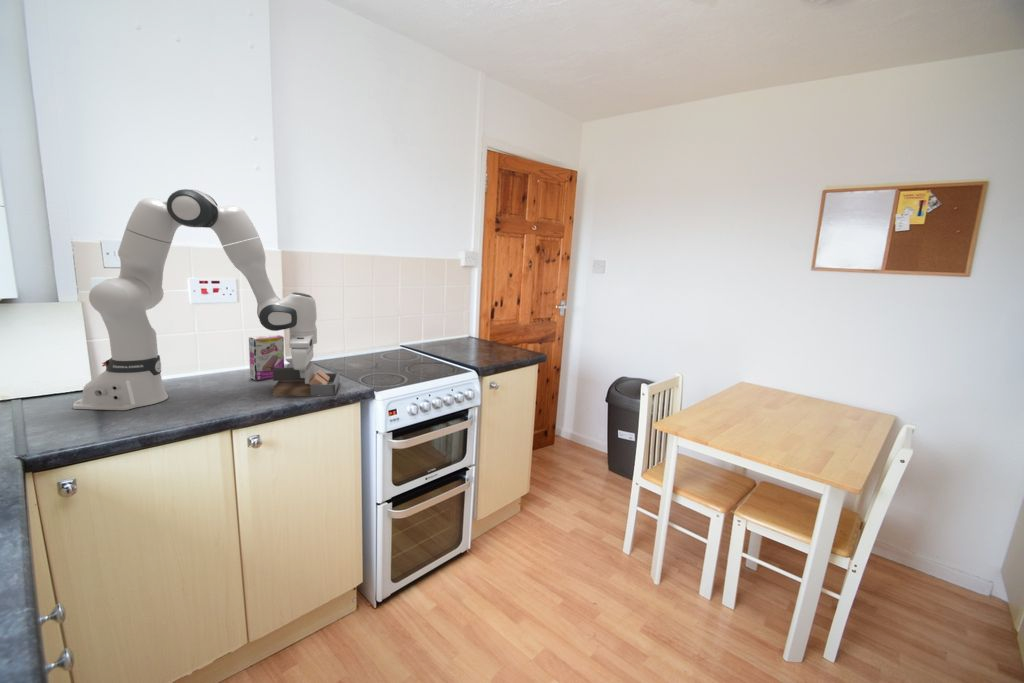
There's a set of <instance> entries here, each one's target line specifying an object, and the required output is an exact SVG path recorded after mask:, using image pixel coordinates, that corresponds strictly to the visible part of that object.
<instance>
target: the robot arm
mask: <svg viewBox="0 0 1024 683" xmlns="http://www.w3.org/2000/svg"><path fill="white" fill-rule="evenodd" d="M182 226H184V227H187V228H206V229H207V228H208V229H211V230H212V231H213V232H214V233H215V234H216V236H217V238H218V240H219V242H220V244H221V246H222V249H223V250H224V253H225V254H226V256H227V257H228V260H229V261H230V262H231V263H232V264H233V267H234V268H236V269H237V270H238V271H239V272H240V273H241V274H242V275H243V276H244V277H245V278H246V281H247V282H248V284H249V286H250V289H251V291H252V292H253V294H254V297H255V299H256V303H257V308H256V309H257V311H256V314H257V317H258V319H259V323H260V324H261V326H262V327H264V329H266V330H269V331H273V332H274V331H275V332H278V331H283V330H289V342H288V346H289V348H291V350H290V352H291V360H292V361H291V363H292V368H294V370H299V371H300V378H305V369H306V367H307V366H308V364H309V363H310V362H312V361H311V360H313V358H314V345H316V344H317V343H318V332H317V330H318V329H317V324H316V322H317V305H316V300H315V298H314V297H313V296H312V295H310V294H307V293H303V292H297V291H296V292H291V293H289V294H287V296H284V297H283V298H279V297H278V296H277V294H276V292H275V290H274V288H273V286H272V284H271V281H270V278H269V277H268V274H267V270H266V253H265V249H264V246H263V243H262V240H261V238H260V236H259V233H258V230H257V229H256V227H255V225H254V223H253V222H252V220H251V218H250V217H249V216H248V214H247V212H246V211H245V210H244V209H243V208H241V207H239V206H235V205H225V206H218V204H217V202H216V201H215V199H214V198H213V197H211V195H209V194H207V193H205V192H202V191H199V190H197V189H188V188H187V189H185V188H184V189H178V190H175V191H174V192H172V193H171V194H170V195H169V196H168V198H167V200H166V201H165V200H163V199H162V200H161V199H158V198H149V197H147V198H143V199H141V200H140V201H138V203H137V204H136V206H135V207H134V209H133V211H132V212H131V215H130V216H129V219H128V221H127V223H126V226H125V229H124V233H123V235H122V238H121V241H120V245H119V247H118V251H117V256H118V257H119V261H120V268H119V269H120V273H119V275H118V277H113V278H108V279H105V280H103V281H101V282H99V283H97V284H96V285H94V286H93V287H92V288H91V290H90V291H89V293H88V294H89V295H88V301H89V303H90V305H91V306H92V308H93V309H94V310H95V311H97V312H98V313H99V315H100V316H101V318H102V320H103V321H102V322H103V323H104V326H105V327H106V330H107V334H108V338H109V344H110V346H109V347H110V354H111V357H110V358H109V359H107V360H105V361H104V362H101V364H102V365H101V367H105V370H104V371H103V372H102V373H100V374H99V375H97V376H95V377H94V378H93V379H91V380H90V381H89V382H88V383H86V384H85V385H84V386H83V389H82V396H81V398H79V399H77V400H76V401H74V402H73V404H72V409H73V410H96V411H97V410H103V411H104V410H105V411H126V410H127V411H128V410H132V409H135V408H139V407H145V406H149V405H150V406H151V405H153V404H159V403H161V402H164V401H166V400H167V399H168V398H169V395H168V393H167V391H166V388H165V386H164V382H163V379H162V378H163V377H162V374H161V373H162V362H161V355H159V352H158V350H159V349H158V342H157V341H158V340H157V332H156V329H154V328H153V327H152V324H151V322H150V320H149V318H148V315H147V311H148V310H151V309H153V308H155V307H156V306H157V305H158V304H160V303H161V302H162V300H163V298H164V295H165V294H164V289H163V278H164V268H165V265H166V261H167V258H168V256H169V252H170V248H171V246H172V243H173V240H174V237H175V234H176V231H177V230H178V228H179V227H182Z"/></svg>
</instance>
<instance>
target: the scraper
mask: <svg viewBox="0 0 1024 683" xmlns="http://www.w3.org/2000/svg"><path fill="white" fill-rule="evenodd" d="M314 364H315V362H314V361H310V362H309V364H308V366H307V367H306V369H305V378H300V371H299V370H294V368H293V367H284V368H274V369H273V378H272V380H273V382H278V381H294V380H305V384H309V382H310V381H311V379H312V377H313V375H314V374H315V365H314Z"/></svg>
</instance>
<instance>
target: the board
mask: <svg viewBox="0 0 1024 683" xmlns="http://www.w3.org/2000/svg"><path fill="white" fill-rule="evenodd" d="M273 396H280V398H281V396H282V397H305V396H306V397H312V396H311V387H310V385H309V384H305V380H294V381H276V383H275V385H274V386H273V387H272V397H273Z"/></svg>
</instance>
